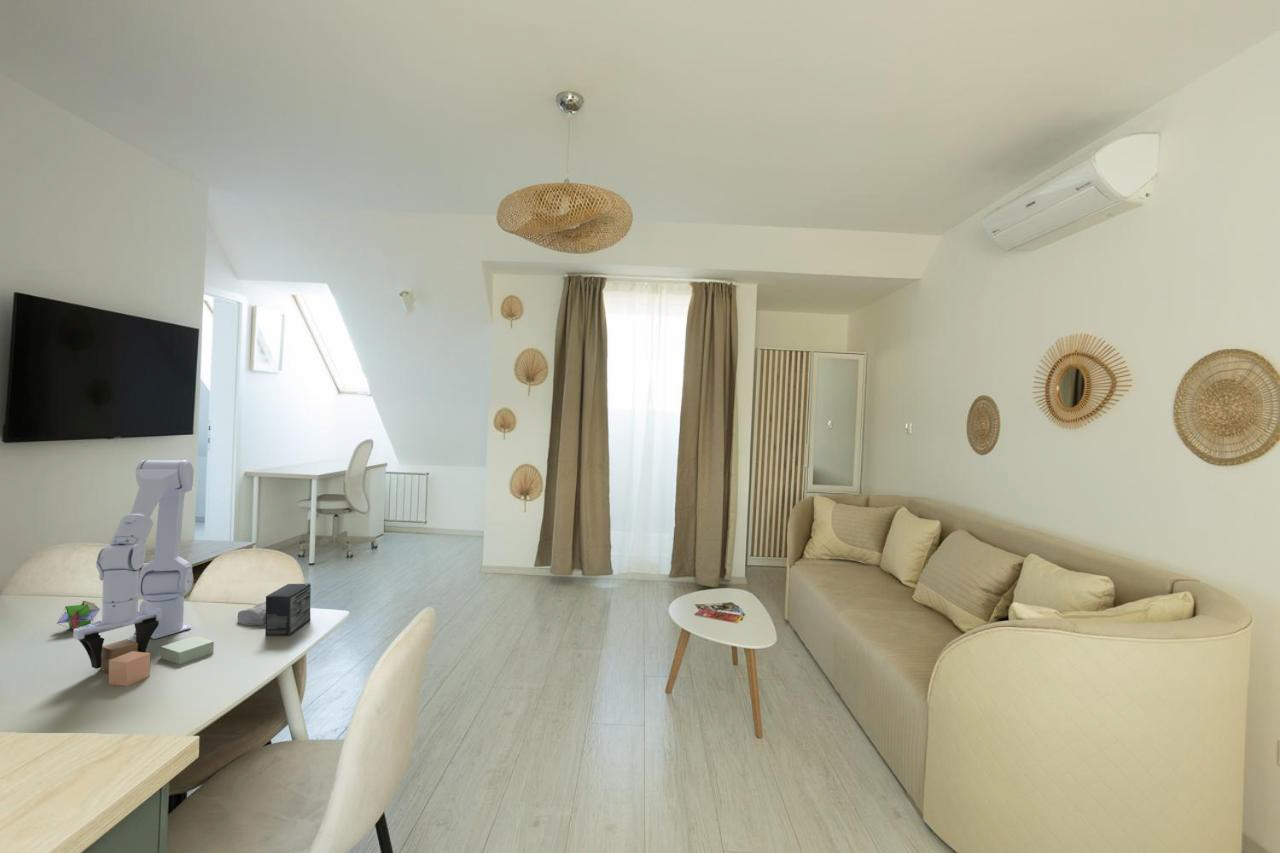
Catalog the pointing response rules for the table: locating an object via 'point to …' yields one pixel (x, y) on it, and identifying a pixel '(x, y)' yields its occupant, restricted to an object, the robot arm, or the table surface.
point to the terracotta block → (129, 668)
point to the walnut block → (116, 651)
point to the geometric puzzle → (79, 615)
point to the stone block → (253, 615)
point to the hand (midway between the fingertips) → (119, 660)
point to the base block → (187, 649)
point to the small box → (287, 609)
